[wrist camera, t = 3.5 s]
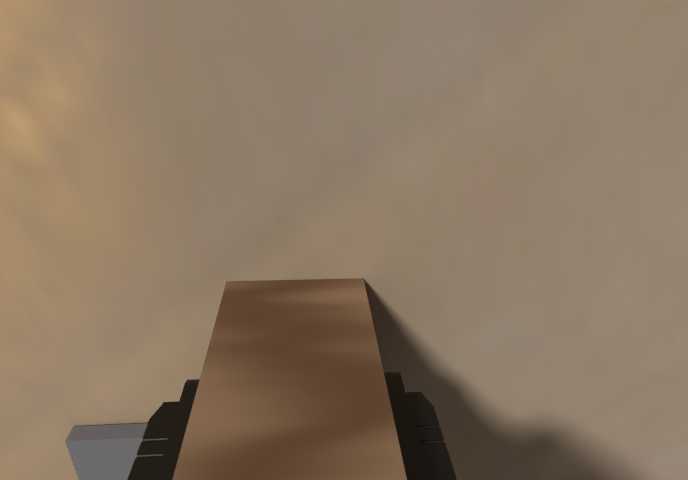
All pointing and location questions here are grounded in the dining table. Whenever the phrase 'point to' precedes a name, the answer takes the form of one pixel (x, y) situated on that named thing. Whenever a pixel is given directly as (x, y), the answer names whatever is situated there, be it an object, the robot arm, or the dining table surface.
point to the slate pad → (105, 450)
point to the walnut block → (292, 388)
